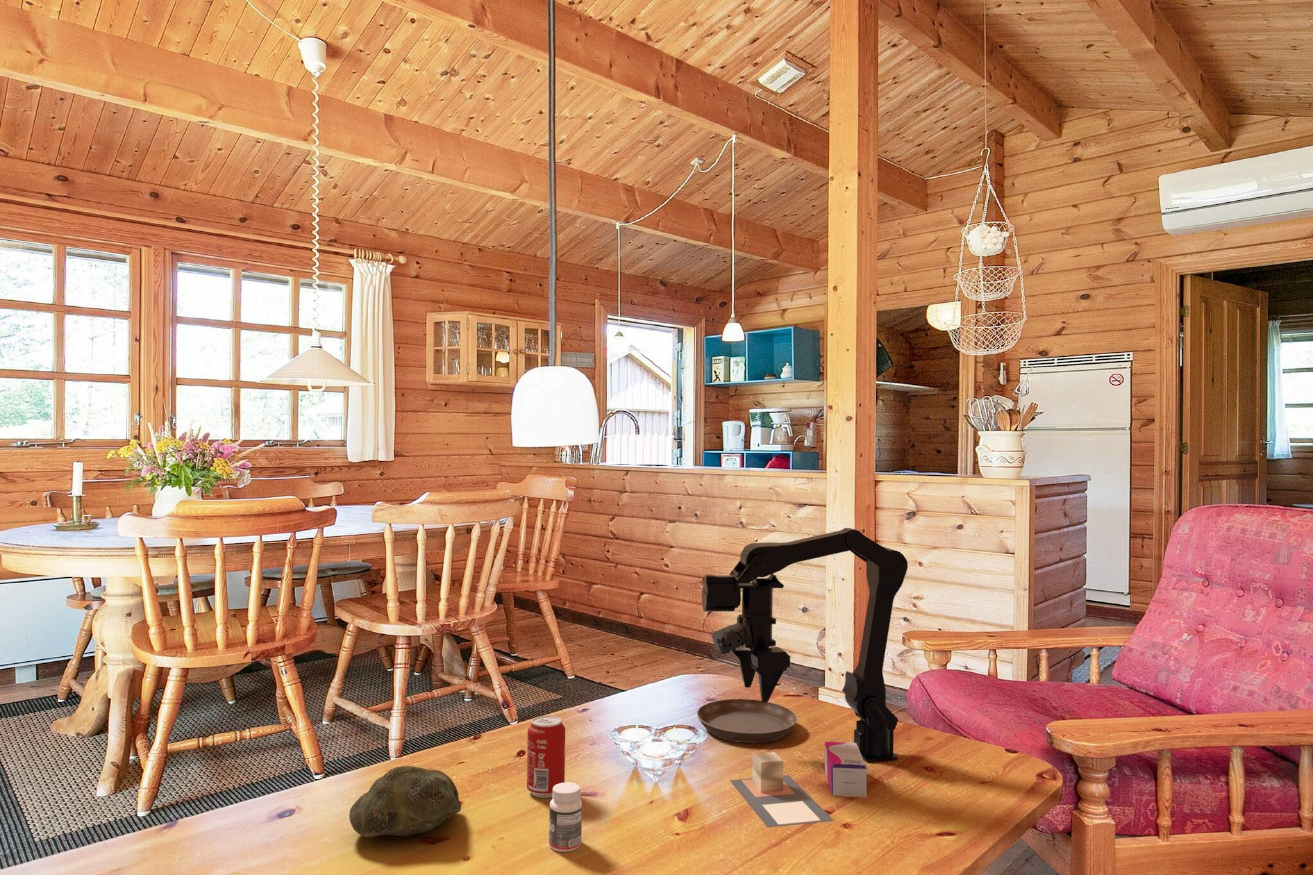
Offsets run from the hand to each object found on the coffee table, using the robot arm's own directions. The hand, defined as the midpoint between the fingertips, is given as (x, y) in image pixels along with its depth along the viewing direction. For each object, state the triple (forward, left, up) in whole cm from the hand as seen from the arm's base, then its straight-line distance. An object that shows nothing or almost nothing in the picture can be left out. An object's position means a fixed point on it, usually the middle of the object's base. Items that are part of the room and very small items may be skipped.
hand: (756, 694), depth 153 cm
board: (+3, +19, -12) cm, 23 cm away
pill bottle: (+39, +26, -12) cm, 48 cm away
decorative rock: (+62, +16, -12) cm, 65 cm away
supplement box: (-9, +21, -9) cm, 24 cm away
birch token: (+3, +14, -11) cm, 18 cm away
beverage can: (+40, +7, -12) cm, 42 cm away
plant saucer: (-4, -16, -12) cm, 21 cm away
